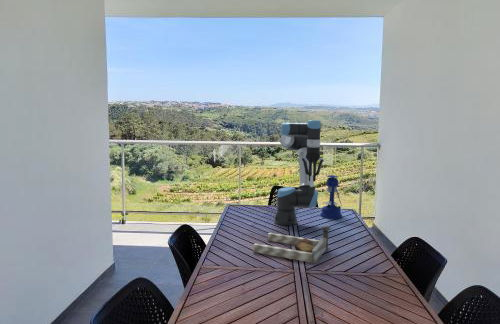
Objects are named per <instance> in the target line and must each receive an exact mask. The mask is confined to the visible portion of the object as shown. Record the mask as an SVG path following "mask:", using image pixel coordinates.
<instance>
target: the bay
mask: <svg viewBox="0 0 500 324" xmlns="http://www.w3.org/2000/svg"><path fill="white" fill-rule="evenodd" d="M330 230H331V227H330V225H321V231H322V238H321V239H320V240H319V239H314V238H308V237H307V238H306V239H307V240H309V241H310V243H311V245H312V246H314V247H315V248H314V249H313V250H312V253H309V252H303V251H297V250H296V249H290V248H284V247H279V246H273V245H268V244H267V245H266V244H261V243H254V244H253V249H252V251H253V253H258V254H263V255H268V256H273V257H279V258H286V259H290V260H295V259H296V260H295V261H301V262H306V263H307V262H308V263H311V264H317V262H318V261H319V259H320V258H321V257H322V255H323V254H324V252H325V251H326V249H328V248H329V232H330ZM301 239H305V238H304V237H300V236H295V235H293V236H292V235H288V234H287V235H286V234H281V233H280V234H279V233H273V232H268V233H267V241H268V242H269V241H270V242H276V243H281V244H288V245H293V246H295V244H297V242H299V240H301Z"/></svg>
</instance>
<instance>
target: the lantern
mask: <svg viewBox="0 0 500 324" xmlns="http://www.w3.org/2000/svg"><path fill="white" fill-rule="evenodd" d="M326 177H327V179H326V184H325V186H326V187H327V188H326V190H325V191H326V192H328V193H329V194H327V193H324V195H325V196H326V198H327V199H329V200H328V201H326V202H324V203H325V204H326V205H324V206H323V207H321V212H320V214H319V216H320V217H321V218H324V219H328V220H339V219H342V217H343V214H342V213H341V210H342V209H341V208H342V207H343V205H342V202H341V198H340V194H338V192H339V189H337V188H338V187H340V185H339V179H338V178H339V176H338V175H334V174H328V175H326ZM335 193H336V195H335ZM328 196H329V197H328ZM336 198H338V200H339V203H338V202H335V201H336V200H335V199H336ZM339 204H340V205H339Z"/></svg>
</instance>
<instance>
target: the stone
mask: <svg viewBox="0 0 500 324" xmlns="http://www.w3.org/2000/svg"><path fill="white" fill-rule="evenodd" d="M307 239H308V238H307ZM307 239H306V238H305V239H301V240H299V242H297V244H295V245H294V250H297V251H303V252H309V253H312V250H313V249H314V248H315V247H314V246H312V245H311V243H310V241H309V240H307Z"/></svg>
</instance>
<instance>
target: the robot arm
mask: <svg viewBox="0 0 500 324" xmlns="http://www.w3.org/2000/svg"><path fill="white" fill-rule="evenodd" d="M321 123H322V122H321V120H318V119H315V120H314V119H313V120H312V119H310V120H309V119H308V121H307V123H306V122H283V123H281V128H280V135H281V136H280V138H279V142H280V145H281V146H282V147H283V148H284V149H286V150H289V151H296V154H298V160H299V161H298V162H299V164H298V167H299V186H298V187H297V189H296V188H295V187H294V186H287V187H281V188H279V189H278V191H277V196H276V199H277V201H276V203H277V205H276V212H275V216H274V219H273V222H274V224H276V225H280V226H293V225H296V224H297V223H298V218H297V215H296V212H295V210H296V209H295V208H308V209H309V208H311V209H313V208H316V207H317V204H318V198H319V190H318V189H316V186H315V182H316V179H317V176H319V175H320V172H321V168H322V166H323V165H322V164H323V162H324V161H325V159H324V158H322V157H321V154H320V152H321V148H320V147H321V128H322V125H321ZM318 162H319V163H318ZM317 163H318V166H317Z"/></svg>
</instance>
